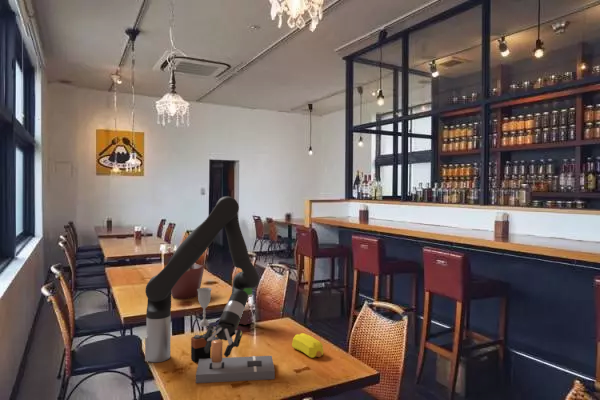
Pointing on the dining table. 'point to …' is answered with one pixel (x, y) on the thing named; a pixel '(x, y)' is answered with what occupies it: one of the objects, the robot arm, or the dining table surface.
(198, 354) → the battery
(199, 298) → the chalice
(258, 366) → the grey peg board
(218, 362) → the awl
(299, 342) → the yellow faceted prism
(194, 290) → the bucket
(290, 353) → the dining table surface
